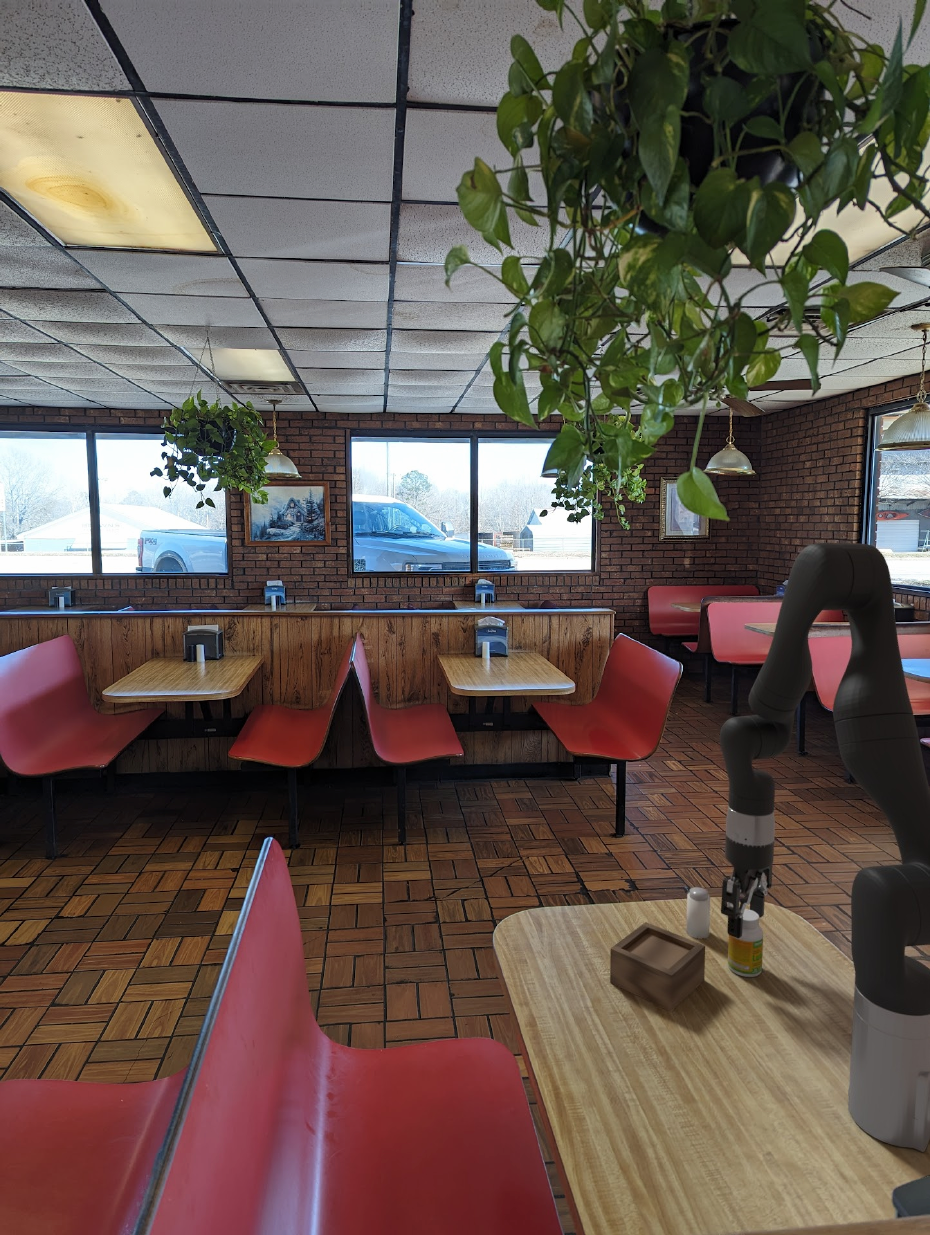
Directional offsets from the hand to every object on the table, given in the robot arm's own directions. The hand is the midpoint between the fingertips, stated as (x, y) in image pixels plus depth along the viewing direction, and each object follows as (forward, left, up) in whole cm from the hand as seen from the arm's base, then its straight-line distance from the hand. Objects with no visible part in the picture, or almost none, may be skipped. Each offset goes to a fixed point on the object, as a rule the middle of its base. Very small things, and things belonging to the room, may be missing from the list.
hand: (745, 925), depth 127 cm
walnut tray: (+9, +13, -8) cm, 18 cm away
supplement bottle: (0, 0, -8) cm, 8 cm away
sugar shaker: (+11, -5, -8) cm, 14 cm away
